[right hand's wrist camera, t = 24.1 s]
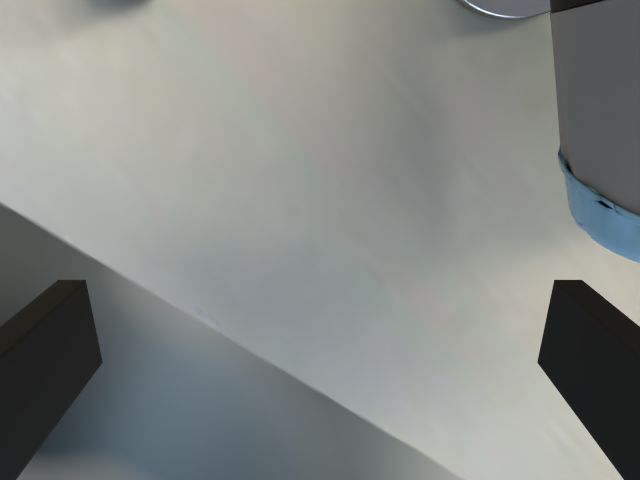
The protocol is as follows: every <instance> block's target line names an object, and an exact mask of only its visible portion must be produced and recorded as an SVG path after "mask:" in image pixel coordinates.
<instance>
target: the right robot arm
mask: <svg viewBox="0 0 640 480" xmlns="http://www.w3.org/2000/svg"><path fill="white" fill-rule="evenodd" d="M457 1H458V2H459V3H460V4H462V5H463V6H465V7H466V8H468V9H470V10H472V11H474V12H476V13H478V14H481V15H484V16H487V17H491V18H497V19H521V18H527V17H532V16H536V15H539V14H543V13H547V12H549V11H551V12H552V13H550V17H551V28H552V40H553V51H554V63H555V77H556V91H557V105H558V119H559V133H560V149H559V152H558V160H559V164H560V167H561V169H562V171H563V173H564V174H565V181H566V188H567V195H568V202H569V207H570V211H571V214H572V216H573V218H574V220H575V221H576V223H577V224H578V225H579V226H580V227H581V228H582V229H583V230H585V231H586V232H587V233H588V234H589V235H590V237H591V238H592V239H593V240H594V241H596V242H597V243H598V244H600V245H602V246H603V247H605V248H607V249H609V250H610V251H612V252H614V253H616V254H618V255H621V256H623V257H625V258H628V259H630V260H633V261H636V262H639V263H640V0H457ZM101 364H102V357H101V353H100V348H99V343H98V338H97V333H96V328H95V324H94V319H93V314H92V309H91V304H90V299H89V294H88V290H87V285H86V280H58V281H56V282H55V283H54V284H53V285H51V286H50V287H49V288H48V289H47V290H45V291H44V292H43V293H42V294H40V295H39V296H38V297H37V298H35V299H34V300H33V301H32V302H30V303H29V304H28V305H27V306H26V307H24V308H23V309H22V310H21V311H19V312H18V313H17V314H16V315H14V316H13V317H12V318H11V319H10V320H8V321H7V322H6V323H5V324H3V325H2V326H1V327H0V480H16V479H17V478H18V476H19V475H20V474H21V472H22V471H23V469H24V468H25V467H26V465H27V464H28V463H29V461H30V460H31V459H32V457H33V456H34V455H35V453H36V452H37V451H38V449H39V448H40V446H41V445H42V444H43V442H44V441H45V440H46V438H47V437H48V436H49V434H50V433H51V432H52V430H53V429H54V427H55V426H56V425H57V423H58V422H59V421H60V419H61V418H62V417H63V415H64V414H65V413H66V411H67V410H68V409H69V407H70V406H71V404H72V403H73V402H74V400H75V399H76V398H77V396H78V395H79V394H80V392H81V391H82V390H83V388H84V387H85V385H86V384H87V383H88V381H89V380H90V379H91V377H92V376H93V375H94V373H95V372H96V371H97V369H98V368H99V367H100V365H101ZM538 364H539V365H540V367H541V368H542V369H543V371H544V372H545V373H546V375H547V376H548V377H549V379H550V380H551V381H552V383H553V384H554V386H555V387H556V388H557V390H558V391H559V392H560V394H561V395H562V396H563V398H564V399H565V400H566V402H567V403H568V404H569V406H570V407H571V409H572V410H573V411H574V413H575V414H576V415H577V417H578V418H579V419H580V421H581V422H582V423H583V425H584V426H585V427H586V429H587V430H588V432H589V433H590V434H591V436H592V437H593V438H594V440H595V441H596V442H597V444H598V445H599V446H600V448H601V449H602V451H603V452H604V453H605V455H606V456H607V457H608V459H609V460H610V461H611V463H612V464H613V465H614V467H615V468H616V469H617V471H618V472H619V474H620V475H621V476H622V478H623V479H624V480H640V327H639V326H638V325H637V324H636V323H634V322H633V321H632V320H631V319H629V318H628V317H627V316H626V315H624V314H623V313H622V312H621V311H619V310H618V309H617V308H616V307H615V306H613V305H612V304H611V303H610V302H608V301H607V300H606V299H605V298H603V297H602V296H601V295H600V294H598V293H597V292H596V291H595V290H594V289H592V288H591V287H590V286H589V285H587V284H586V283H585V282H584V281H582V280H554V285H553V289H552V294H551V299H550V304H549V309H548V314H547V319H546V323H545V328H544V333H543V338H542V343H541V348H540V353H539V357H538Z"/></svg>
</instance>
